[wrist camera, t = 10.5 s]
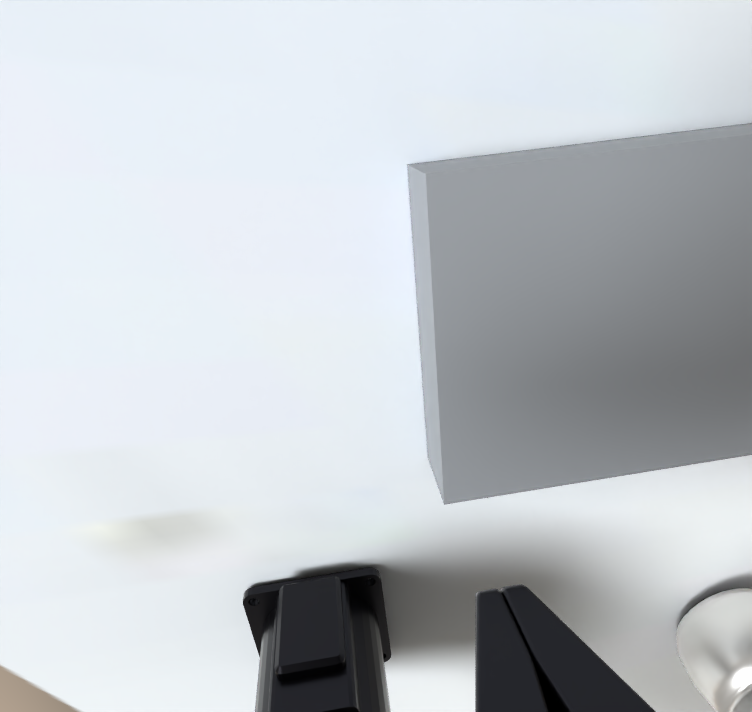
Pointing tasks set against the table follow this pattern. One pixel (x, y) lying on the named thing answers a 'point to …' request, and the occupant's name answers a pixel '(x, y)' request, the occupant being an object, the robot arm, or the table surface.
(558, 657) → the robot arm
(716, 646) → the plastic bottle
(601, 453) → the plate
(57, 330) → the table surface
